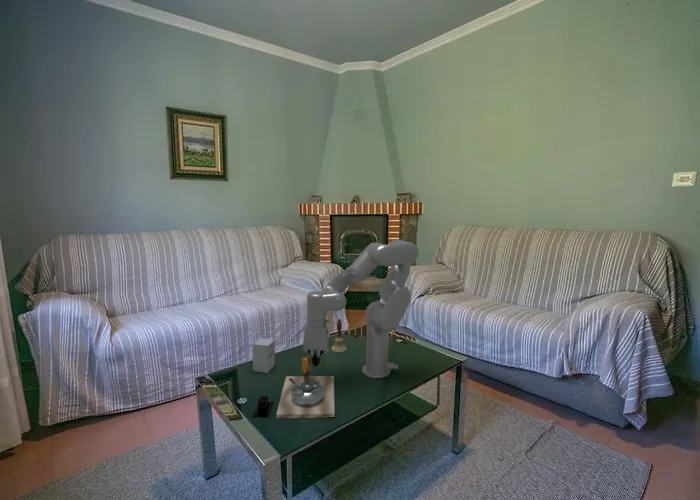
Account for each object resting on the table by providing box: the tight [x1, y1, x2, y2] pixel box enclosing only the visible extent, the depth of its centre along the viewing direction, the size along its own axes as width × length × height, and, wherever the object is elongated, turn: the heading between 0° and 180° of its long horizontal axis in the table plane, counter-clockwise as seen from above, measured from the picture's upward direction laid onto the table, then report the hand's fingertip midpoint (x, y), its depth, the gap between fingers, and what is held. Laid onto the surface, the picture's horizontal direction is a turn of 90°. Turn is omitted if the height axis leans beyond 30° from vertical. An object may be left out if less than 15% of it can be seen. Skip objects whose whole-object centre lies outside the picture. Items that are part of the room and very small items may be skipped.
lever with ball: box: [291, 355, 324, 407], centre depth 132 cm, size 22×12×9 cm, turn 9°
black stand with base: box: [251, 395, 275, 419], centre depth 123 cm, size 12×7×5 cm, turn 179°
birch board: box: [275, 375, 336, 419], centre depth 131 cm, size 20×26×2 cm
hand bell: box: [330, 318, 348, 353], centre depth 173 cm, size 8×8×16 cm
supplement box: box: [252, 337, 276, 374], centre depth 152 cm, size 7×7×13 cm
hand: (315, 364), depth 141 cm, fingers closed
